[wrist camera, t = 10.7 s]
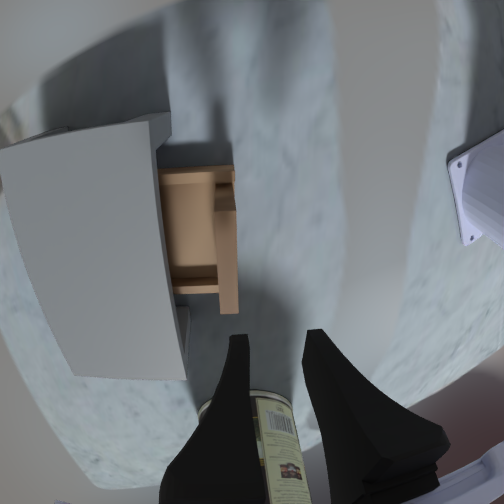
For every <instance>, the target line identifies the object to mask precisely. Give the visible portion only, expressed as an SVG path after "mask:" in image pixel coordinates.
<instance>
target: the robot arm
mask: <svg viewBox="0 0 504 504" xmlns="http://www.w3.org/2000/svg"><path fill="white" fill-rule="evenodd" d="M458 162H459V165H458V166H457V164H458ZM448 171H449V175H450V180H451V184H452V189H453V193H454V198H455V203H456V209H457V214H458V220H459V226H460V233H461V240H462V243H463V244H464V245H465V246H468V245H469V244H471V243H472V242H474V241H475V240H476V239H478V238H479V237H481V236H482V235H483V234H485V235H486V236H487V237H488V238H490V239H491V240H492V241H494V242H495V243H496V244H497V245H499V246H500V247H501V248H502V249H504V129H503V130H502V131H500V132H498V133H497V134H495V135H493V136H492V137H490V138H488V139H486V140H485V141H483V142H481V143H480V144H478V145H476V146H474V147H473V148H471V149H469V150H468V151H466V152H464V153H462V154H461V155H459V156H457V157H456V158H454V159H452V160H451V161H450V162H449V163H448ZM470 237H471V238H470ZM302 367H303V373H304V378H305V383H306V387H307V390H308V393H309V396H310V400H311V403H312V406H313V409H314V412H315V415H316V418H317V421H318V425H319V428H320V432H321V436H322V442H323V447H324V452H325V458H326V464H327V471H328V479H329V486H330V494H331V504H489V503H491V502H492V501H494V500H495V499H497V498H498V497H500V496H501V495H502V494H504V441H503V442H501V443H499V444H498V445H496V446H495V447H493V448H491V449H490V450H489V451H487V452H486V453H485V454H484V455H483V456H482V457H481V458H480V459H478V460H476V461H474V462H472V463H470V464H468V465H466V466H464V467H463V468H460V469H458V470H456V471H454V472H452V473H450V474H448V475H446V476H444V477H442V478H439V479H438V478H437V475H436V473H435V471H436V470H437V469H438V468H437V465H436V463H435V462H436V461H437V460H438V459H439V458H441V457H442V456H443V455H444V454H445V453H446V451H448V449H449V447H450V445H451V444H450V442H449V440H448V438H447V435H446V433H445V431H444V430H443V428H442V427H441V426H440V425H437V424H435V423H433V422H431V421H428V420H426V419H424V418H422V417H420V416H418V415H416V414H414V413H412V412H410V411H409V410H407V409H406V408H404V407H403V406H401V405H400V404H398V403H397V402H395V401H394V400H392V399H391V398H389V397H388V396H387V395H385V394H384V393H383V392H381V391H380V390H379V389H378V388H376V387H375V386H374V385H373V384H372V383H371V382H370V381H368V380H367V379H366V378H365V377H364V376H363V375H362V374H361V373H360V372H359V371H358V370H357V369H356V368H355V367H354V366H353V365H352V364H351V362H350V361H349V360H348V359H347V358H346V357H345V356H344V355H343V354H342V353H341V351H340V350H339V349H338V348H337V347H336V345H335V344H334V343H333V342H332V340H331V339H330V338H329V337H328V336H327V334H326V333H325V332H324V331H323V330H322V329H313V330H307V336H306V341H305V347H304V353H303V358H302ZM265 500H266V494H265V486H264V480H263V475H262V469H261V464H260V458H259V453H258V447H257V441H256V434H255V428H254V421H253V414H252V407H251V400H250V347H249V340H248V335H247V334H238V335H231V336H230V337H229V349H228V354H227V358H226V362H225V366H224V369H223V372H222V375H221V378H220V381H219V383H218V386H217V388H216V391H215V393H214V396H213V398H212V400H211V402H210V404H209V406H208V408H207V410H206V412H205V414H204V416H203V418H202V419H201V421H200V423H199V425H198V426H197V428H196V430H195V431H194V433H193V434H192V436H191V437H190V438H189V440H188V441H187V443H186V444H185V446H184V447H183V448H182V450H181V451H180V452H179V454H178V455H177V456H176V457H175V458H174V460H173V461H172V462H171V463H170V464H169V466H168V467H167V469H166V471H165V474H164V476H163V479H162V482H161V486H160V491H159V504H265ZM54 504H70V503H66V502H62V501H59V500H55V503H54Z"/></svg>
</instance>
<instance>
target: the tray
mask: <svg viewBox="0 0 504 504" xmlns="http://www.w3.org/2000/svg"><path fill="white" fill-rule="evenodd" d="M157 172H158V183H159V193H160V202H161V211H162V219H163V228H164V235H165V243H166V250H167V257H168V264H169V271H170V277H171V283H172V290H173V294H198V293H219V301H220V314H238V313H239V309H238V271H237V224H236V205H235V198H234V181H235V170H234V165H215V166H194V167H178V168H164V169H157Z"/></svg>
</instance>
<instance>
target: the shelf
mask: <svg viewBox="0 0 504 504" xmlns="http://www.w3.org/2000/svg"><path fill="white" fill-rule="evenodd" d="M171 135H172V131H171V112H160V113H151V114H145V115H142V116H139V117H136V118H133V119H131V120H128V121H125V122H122V123H115V124H108V125H102V126H96V127H90V128H84V129H79V130H73V131H68V126H67V127H63V128H58V129H53V130H49V131H46V132H44V133H41V134H38V135H35V136H32V137H30V138H27V139H24V140H22V141H19V142H16V143H14V144H11V145H9V146H6V147H4V148H2V149H0V175H1V180H2V185H3V189H4V194H5V198H6V203H7V207H8V211H9V215H10V219H11V222H12V226H13V230H14V233H15V236H16V240H17V243H18V246H19V249H20V253H21V256H22V259H23V262H24V264H25V267H26V270H27V273H28V276H29V278H30V281H31V284H32V286H33V289H34V292H35V294H36V297H37V299H38V301H39V304H40V306H41V309H42V311H43V313H44V315H45V318H46V320H47V322H48V324H49V327H50V329H51V331H52V333H53V335H54V337H55V339H56V341H57V343H58V345H59V347H60V349H61V351H62V353H63V355H64V357H65V359H66V361H67V363H68V365H69V366H70V368H71V370H72V372H73V374H74V375H75V376H85V377H97V378H112V379H131V380H187V370H188V355H189V341H190V328H191V317H190V311H189V307H175V301H174V296H173V290H172V283H171V277H170V271H169V264H168V257H167V250H166V243H165V235H164V228H163V219H162V211H161V202H160V193H159V183H158V172H157V160H156V149H157V148H158V147H160V146H161V145H162V144H163V143H164V142H165V141H166V140H167V139H168V138H169V137H170V136H171Z"/></svg>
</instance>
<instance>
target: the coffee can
mask: <svg viewBox="0 0 504 504" xmlns="http://www.w3.org/2000/svg"><path fill="white" fill-rule="evenodd" d="M211 400H212V399H211ZM211 400H209V401H207V402H206V403H205V404H204V405H203V406H202V407H201V408H200V410H199V412H198V420H199V423H200V421H201V419H202V418H203V416H204V414H205V412H206V410H207V408H208V406H209V404H210V402H211ZM250 400H251V407H252V414H253V421H254V428H255V434H256V441H257V447H258V453H259V458H260V464H261V469H262V475H263V480H264V486H265V494H266V500H265V504H312V499H311V495H310V490H309V485H308V481H307V476H306V471H305V467H304V463H303V458H302V453H301V449H300V444H299V439H298V435H297V430H296V426H295V421H294V417H293V408H292V405H291V403H290V402H289V401H288V400H287V399H286V398H284V397H282V396H280V395H278V394H275V393H272V392H267V391H259V390H250Z"/></svg>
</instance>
